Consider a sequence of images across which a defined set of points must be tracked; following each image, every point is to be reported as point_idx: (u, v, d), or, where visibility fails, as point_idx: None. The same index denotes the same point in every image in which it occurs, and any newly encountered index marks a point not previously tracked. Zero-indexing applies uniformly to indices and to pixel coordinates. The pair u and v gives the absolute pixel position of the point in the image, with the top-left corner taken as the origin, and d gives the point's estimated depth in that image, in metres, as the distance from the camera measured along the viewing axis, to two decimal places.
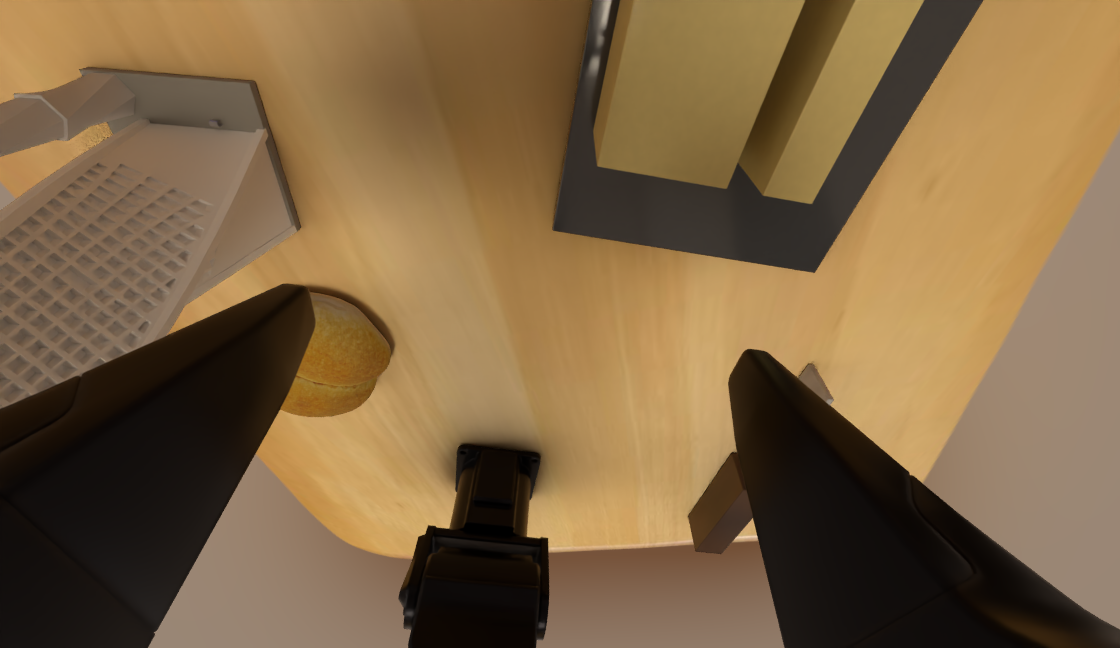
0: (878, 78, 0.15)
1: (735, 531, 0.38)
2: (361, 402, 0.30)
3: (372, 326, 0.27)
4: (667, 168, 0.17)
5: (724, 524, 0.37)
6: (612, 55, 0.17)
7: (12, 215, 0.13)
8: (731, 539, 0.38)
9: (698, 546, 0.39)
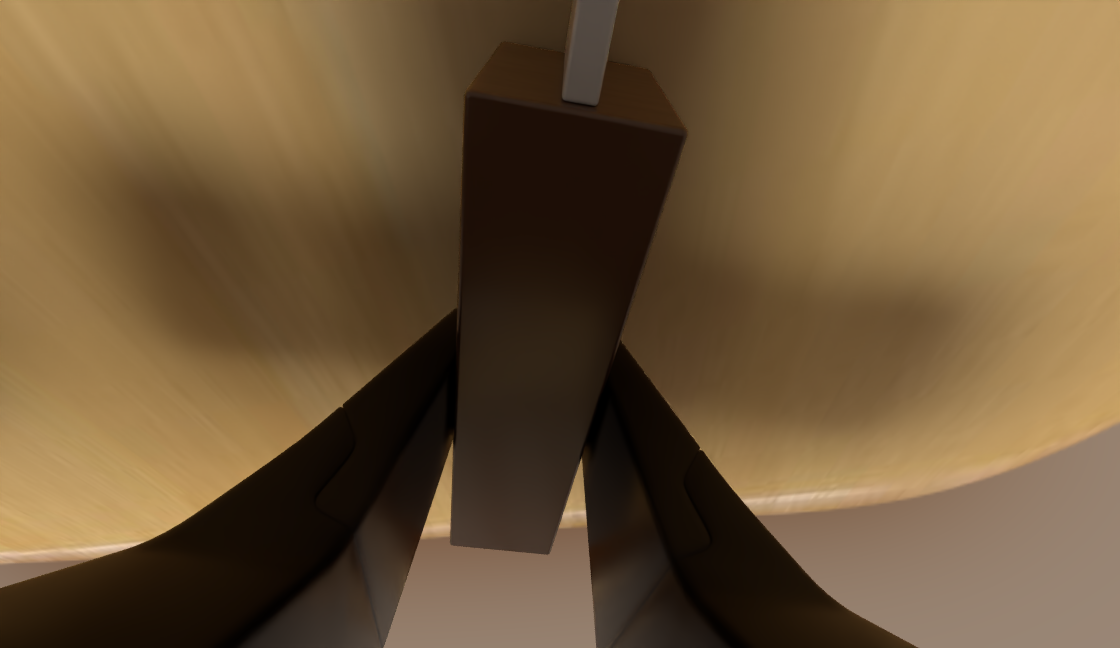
0: None
1: (558, 454, 0.09)
2: None
3: None
4: None
5: (490, 413, 0.08)
6: None
7: None
8: (557, 494, 0.09)
9: None
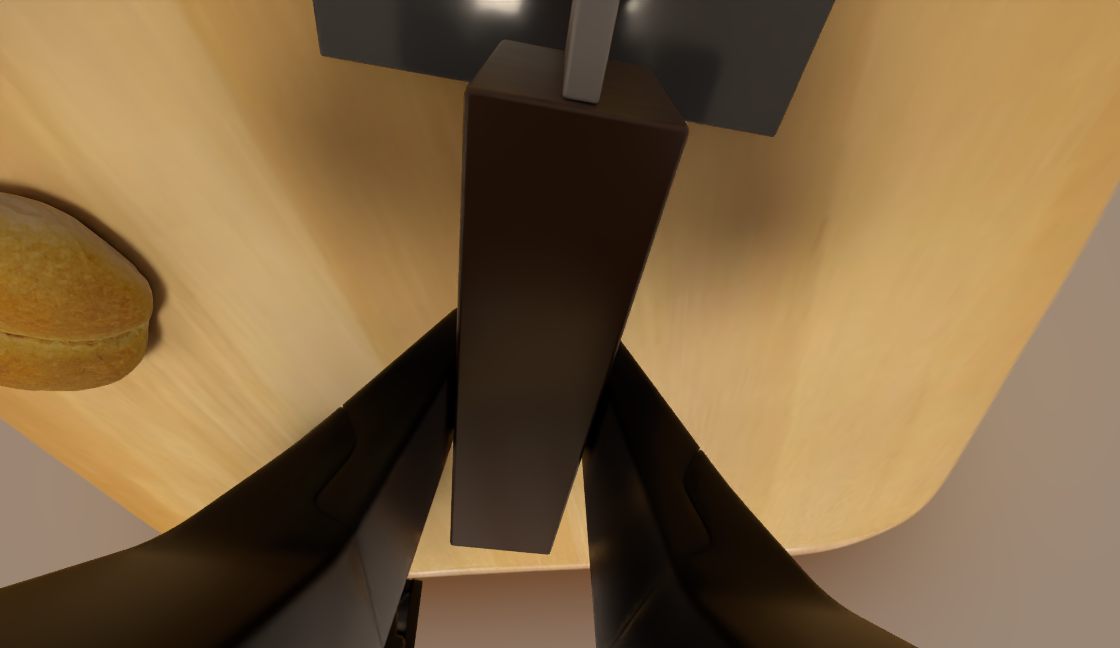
0: None
1: (558, 454, 0.09)
2: (117, 369, 0.20)
3: (100, 247, 0.18)
4: None
5: (490, 413, 0.08)
6: None
7: None
8: (557, 494, 0.09)
9: (451, 525, 0.10)
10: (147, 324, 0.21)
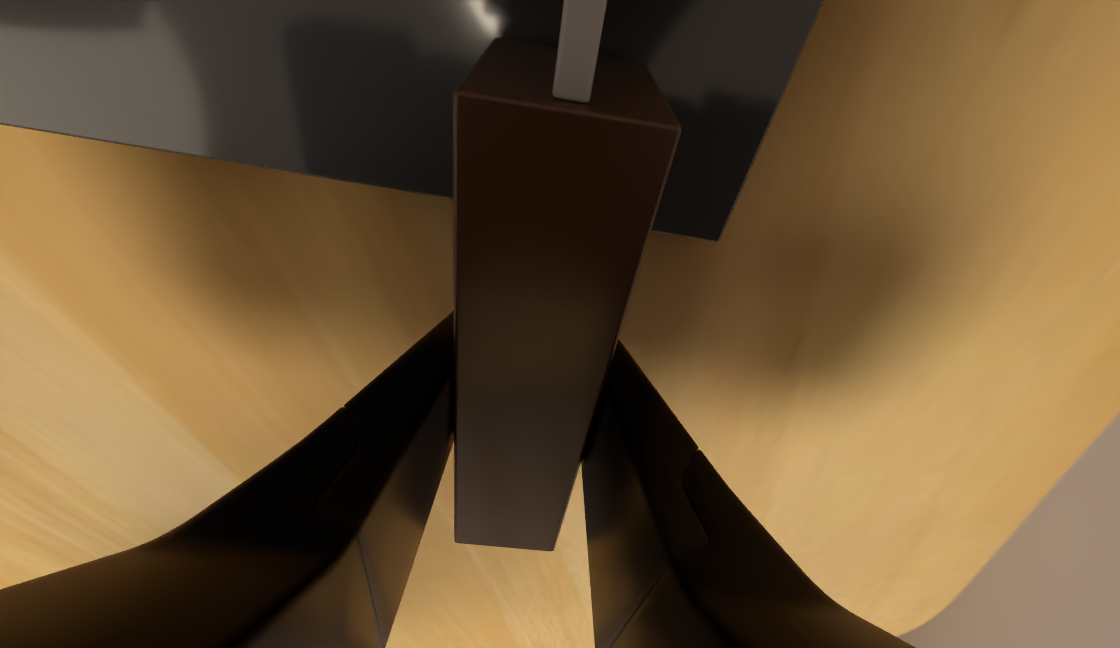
0: None
1: (559, 453, 0.09)
2: None
3: None
4: None
5: (489, 413, 0.08)
6: None
7: None
8: (559, 492, 0.09)
9: (454, 523, 0.11)
10: None
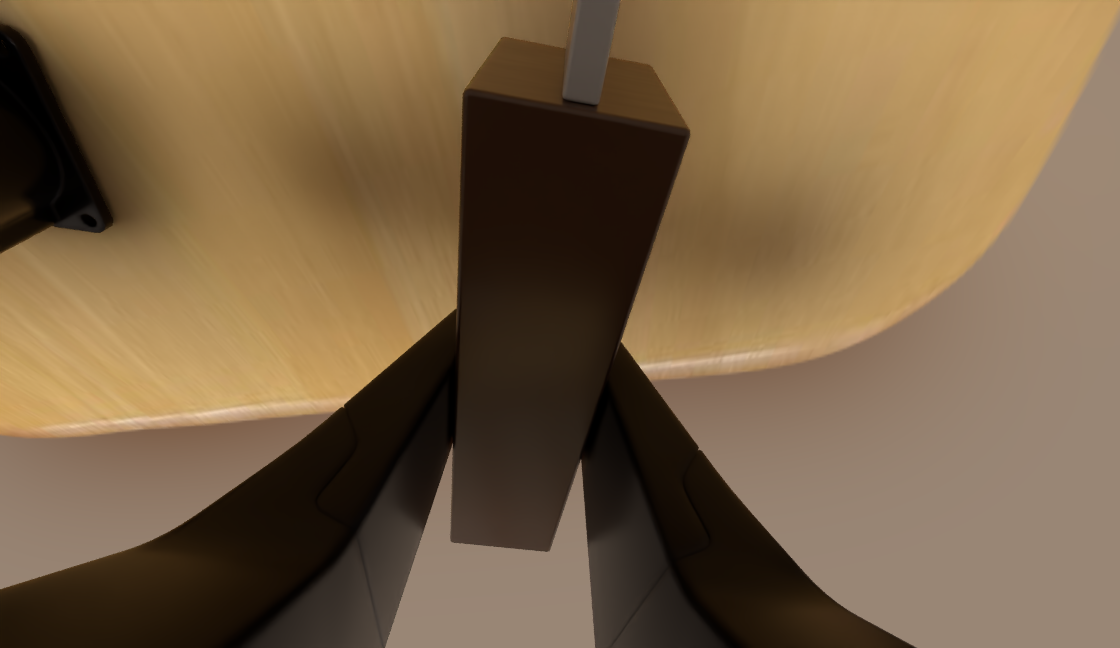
0: None
1: (558, 454, 0.09)
2: None
3: None
4: None
5: (489, 413, 0.08)
6: None
7: None
8: (557, 493, 0.09)
9: None
10: None
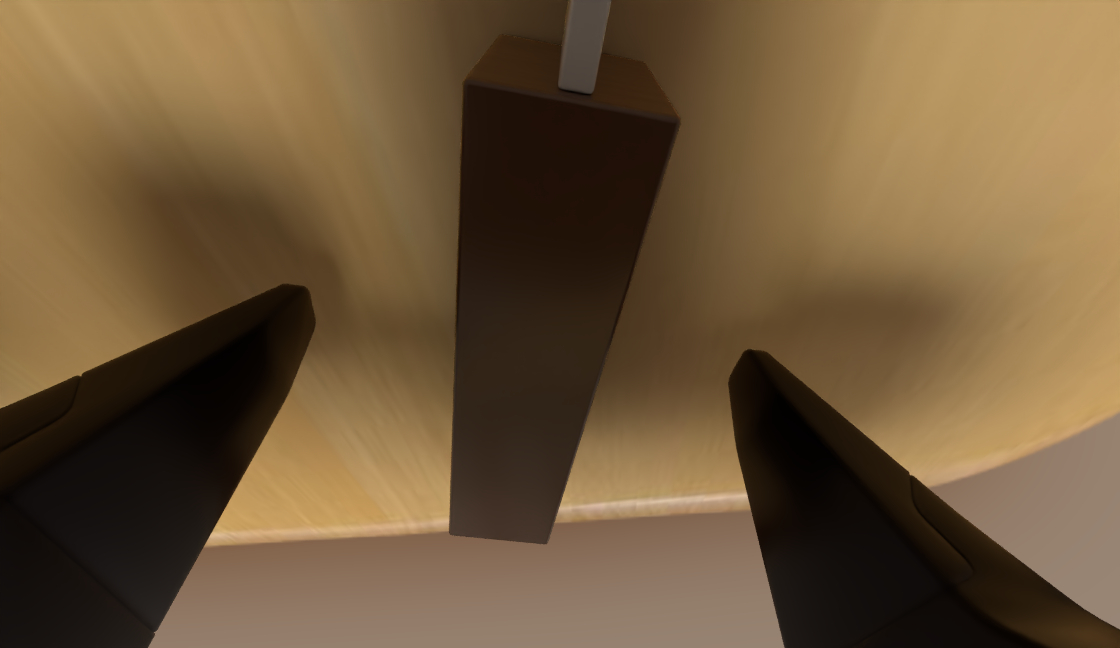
0: None
1: (555, 443, 0.09)
2: None
3: None
4: None
5: (488, 401, 0.08)
6: None
7: None
8: (554, 483, 0.09)
9: None
10: None
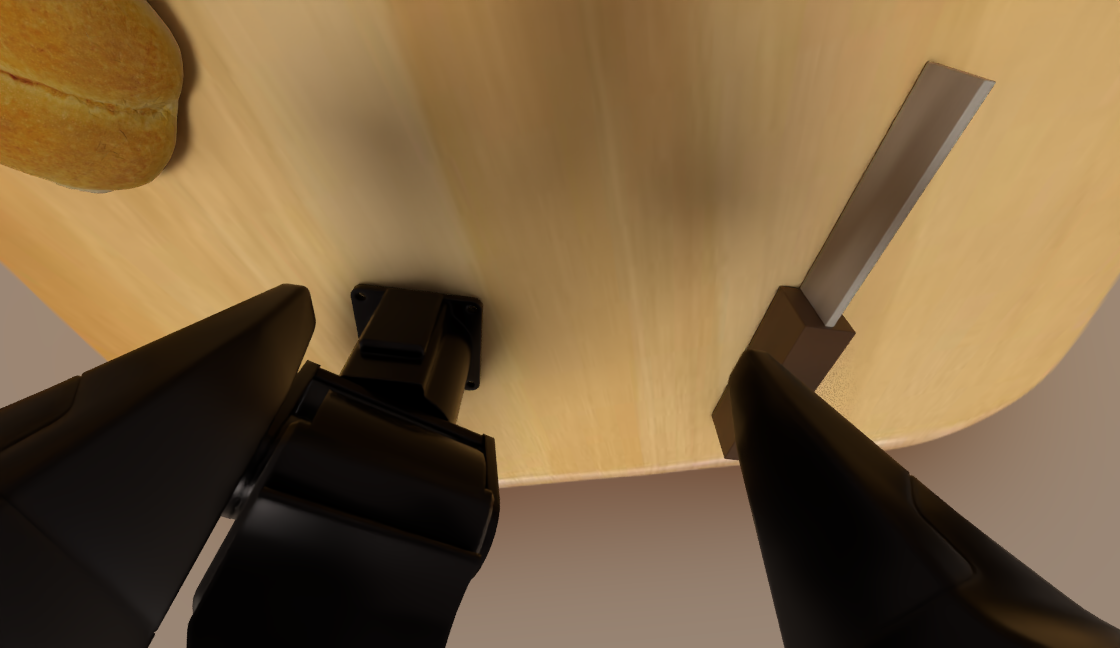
0: None
1: None
2: (142, 158, 0.17)
3: None
4: None
5: None
6: None
7: None
8: None
9: (728, 449, 0.26)
10: (176, 108, 0.18)
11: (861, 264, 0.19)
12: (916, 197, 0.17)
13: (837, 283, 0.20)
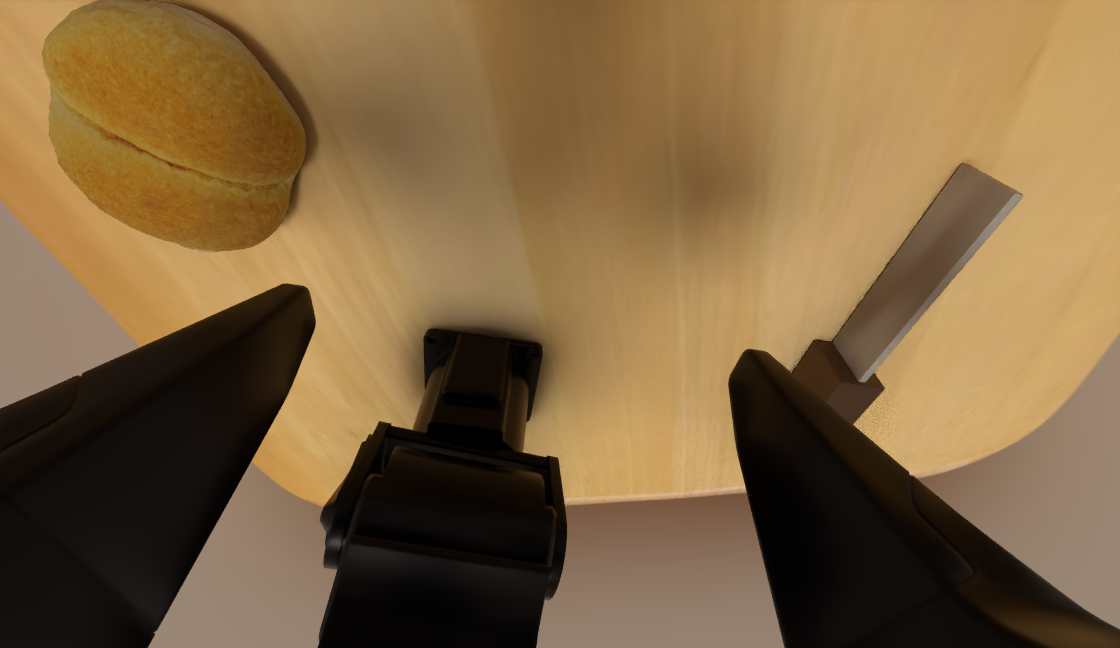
0: None
1: None
2: (263, 226, 0.19)
3: (267, 74, 0.17)
4: None
5: None
6: None
7: None
8: None
9: None
10: (292, 180, 0.19)
11: (895, 332, 0.21)
12: (948, 281, 0.19)
13: (870, 344, 0.23)
